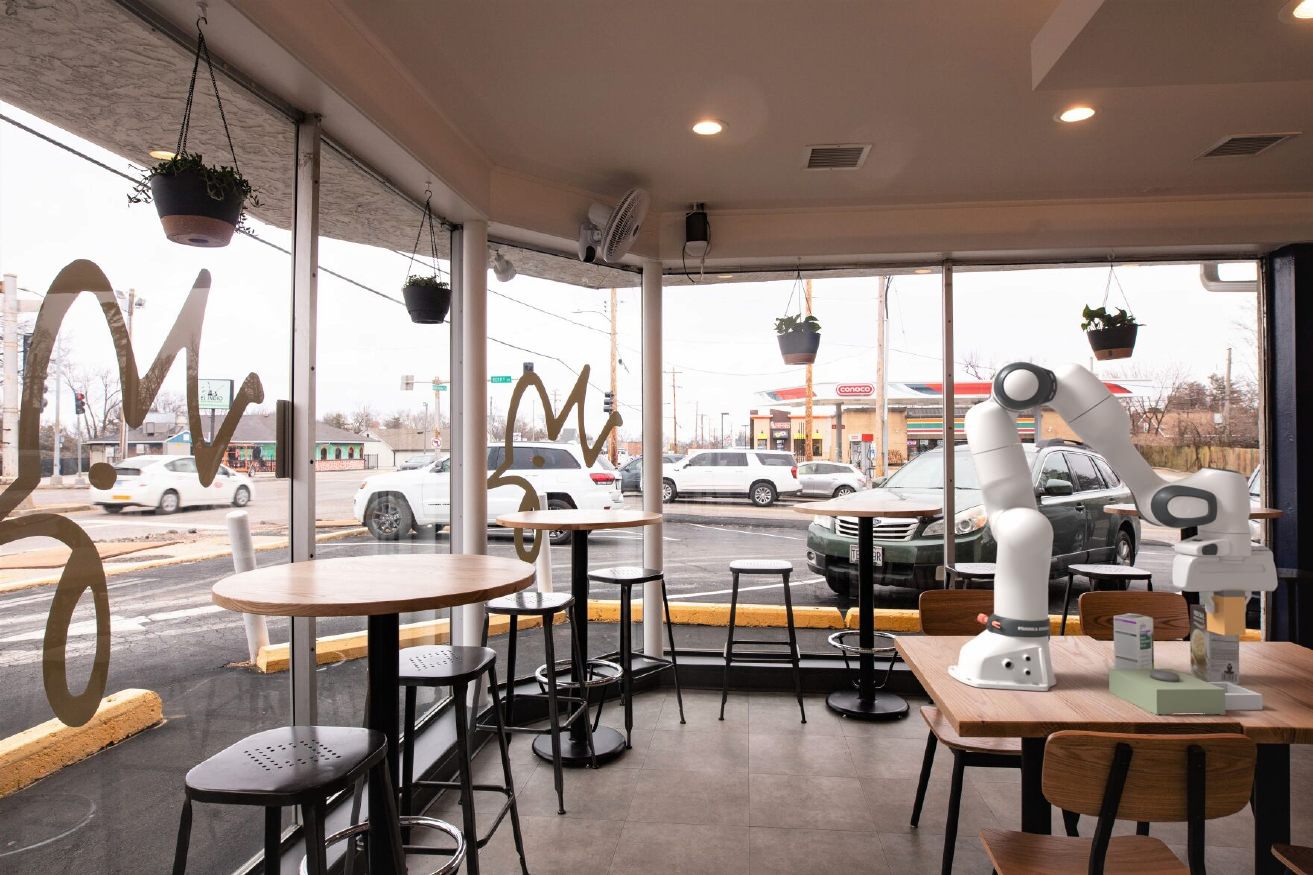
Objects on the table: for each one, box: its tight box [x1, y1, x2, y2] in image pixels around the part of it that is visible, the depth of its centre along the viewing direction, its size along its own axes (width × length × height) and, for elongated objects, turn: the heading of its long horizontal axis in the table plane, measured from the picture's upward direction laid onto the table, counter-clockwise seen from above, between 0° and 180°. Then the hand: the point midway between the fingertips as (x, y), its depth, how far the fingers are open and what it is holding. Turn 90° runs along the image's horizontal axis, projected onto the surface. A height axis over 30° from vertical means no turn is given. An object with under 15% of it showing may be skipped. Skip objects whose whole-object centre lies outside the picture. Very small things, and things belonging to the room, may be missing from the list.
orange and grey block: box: [1207, 590, 1247, 636], centre depth 154 cm, size 5×5×9 cm
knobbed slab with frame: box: [1108, 668, 1264, 716], centre depth 153 cm, size 24×14×6 cm, turn 93°
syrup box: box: [1113, 613, 1155, 669], centre depth 169 cm, size 6×6×14 cm
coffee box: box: [1189, 604, 1240, 686], centre depth 171 cm, size 9×6×16 cm
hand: (1225, 612), depth 154 cm, fingers closed on orange and grey block, 4 cm apart
